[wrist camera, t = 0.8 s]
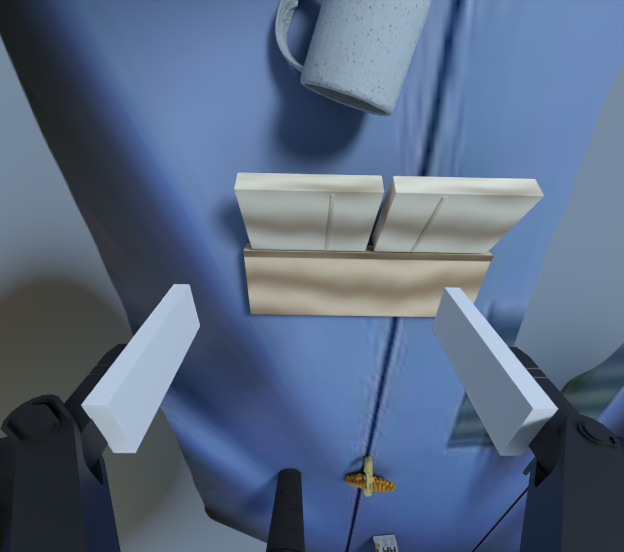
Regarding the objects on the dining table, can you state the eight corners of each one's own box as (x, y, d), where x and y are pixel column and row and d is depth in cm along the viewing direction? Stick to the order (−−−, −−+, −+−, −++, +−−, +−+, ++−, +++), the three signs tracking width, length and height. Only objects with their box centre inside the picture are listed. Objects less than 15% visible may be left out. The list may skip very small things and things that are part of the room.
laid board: (246, 242, 33) (243, 250, 31) (483, 247, 33) (493, 255, 31) (253, 304, 37) (250, 314, 36) (461, 308, 38) (468, 318, 36)
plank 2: (393, 176, 24) (396, 193, 23) (535, 179, 24) (544, 196, 23) (372, 236, 32) (374, 251, 31) (480, 238, 32) (486, 253, 31)
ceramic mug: (420, 3, 22) (464, -43, 16) (379, 117, 26) (400, 119, 20) (291, -50, 21) (278, -125, 14) (268, 79, 25) (251, 67, 18)
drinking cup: (309, 466, 59) (309, 611, 42) (304, 483, 63) (302, 622, 46) (274, 463, 59) (258, 609, 42) (271, 480, 63) (256, 621, 46)
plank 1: (237, 172, 24) (234, 190, 23) (381, 175, 24) (384, 193, 23) (253, 234, 32) (251, 249, 31) (363, 236, 32) (365, 251, 31)
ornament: (395, 511, 60) (396, 499, 50) (346, 501, 62) (337, 488, 52) (394, 473, 64) (395, 455, 54) (349, 466, 67) (341, 447, 57)
